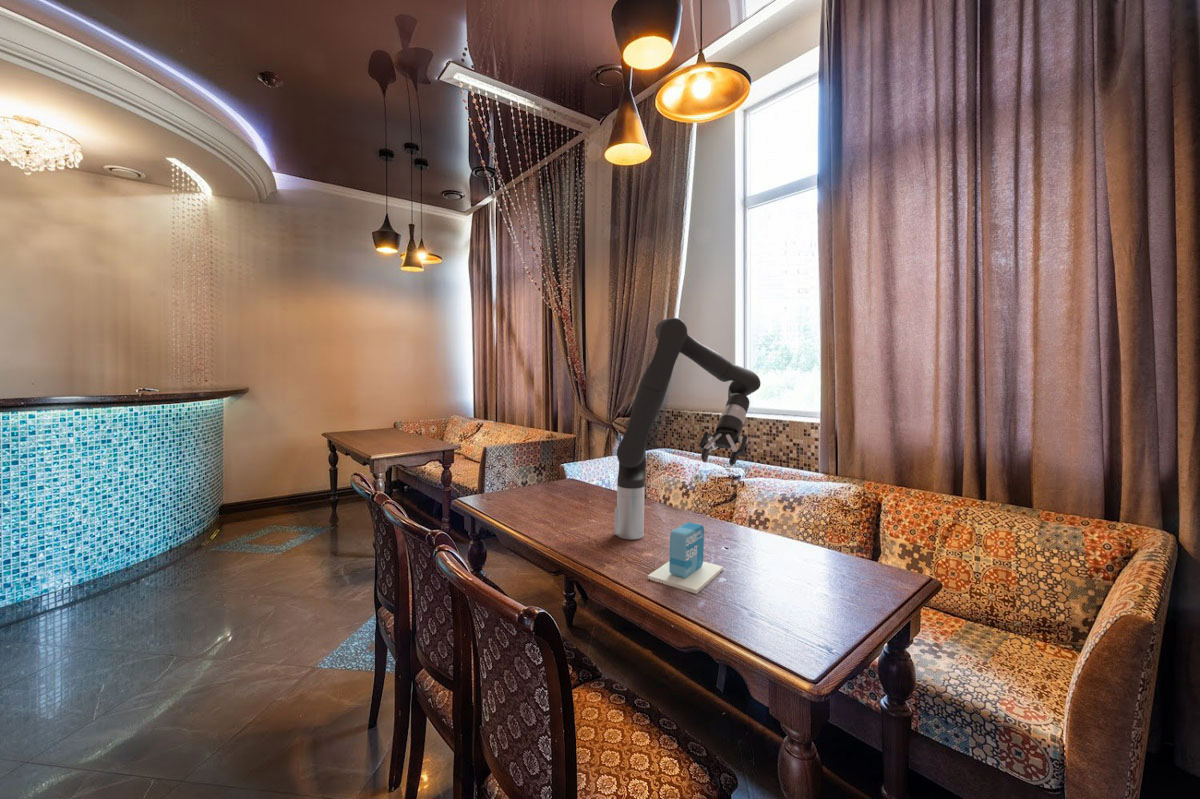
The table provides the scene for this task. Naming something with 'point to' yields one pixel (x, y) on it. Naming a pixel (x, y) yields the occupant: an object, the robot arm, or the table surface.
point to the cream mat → (690, 583)
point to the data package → (686, 549)
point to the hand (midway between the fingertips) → (717, 462)
